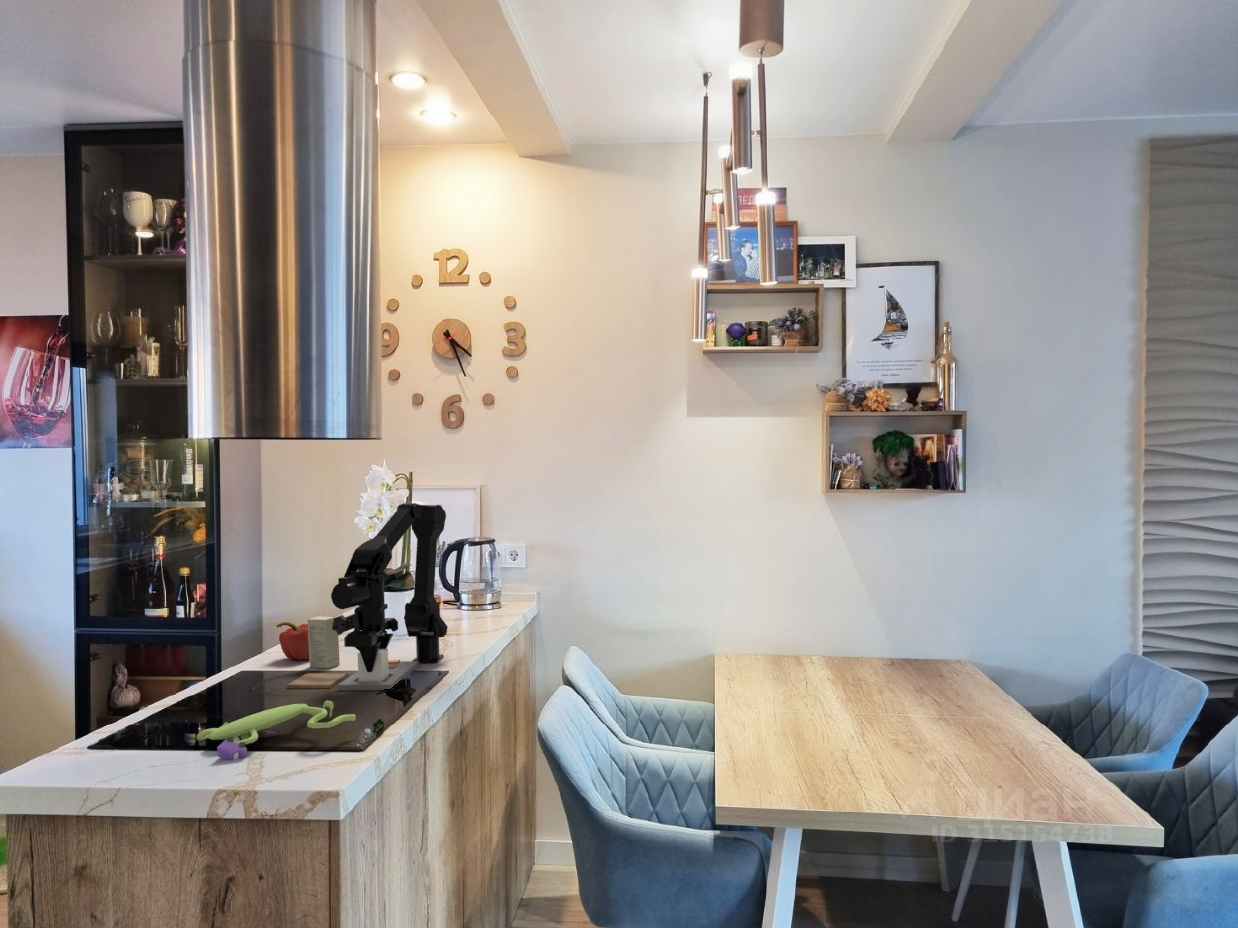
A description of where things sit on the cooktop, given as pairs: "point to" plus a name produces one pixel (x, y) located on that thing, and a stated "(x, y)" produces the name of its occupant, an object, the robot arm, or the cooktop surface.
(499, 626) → the cooktop surface
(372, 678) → the block
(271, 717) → the figurine
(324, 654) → the skincare box
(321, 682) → the walnut coaster
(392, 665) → the grey slotted tray
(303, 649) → the vegetable
